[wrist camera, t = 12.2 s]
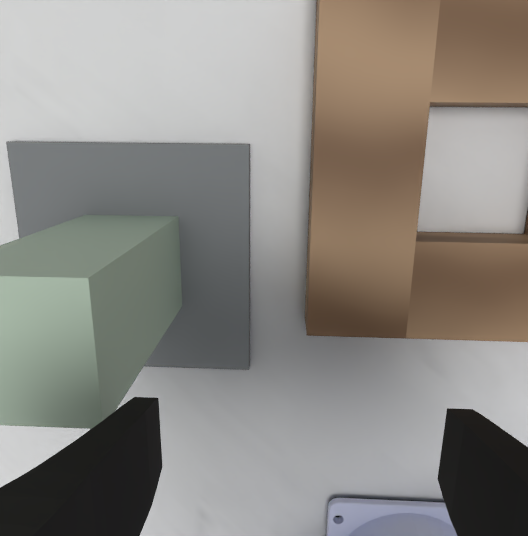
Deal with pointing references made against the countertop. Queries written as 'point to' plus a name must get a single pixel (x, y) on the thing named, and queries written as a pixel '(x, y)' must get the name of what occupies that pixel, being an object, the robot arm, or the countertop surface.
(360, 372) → the countertop surface
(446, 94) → the pocket holder
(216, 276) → the slate mat
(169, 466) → the countertop surface
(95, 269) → the sage block
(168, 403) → the countertop surface
